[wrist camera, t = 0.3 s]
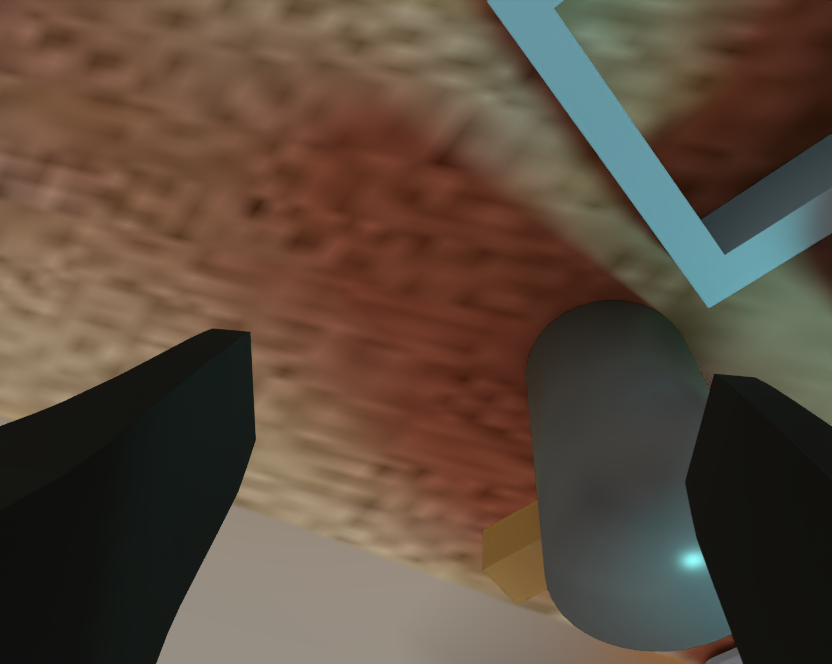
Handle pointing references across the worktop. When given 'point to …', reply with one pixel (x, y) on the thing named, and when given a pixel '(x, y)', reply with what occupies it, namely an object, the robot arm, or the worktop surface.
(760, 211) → the light blue shallow tray
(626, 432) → the dark grey rounded cylinder
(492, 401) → the worktop surface
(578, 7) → the worktop surface
